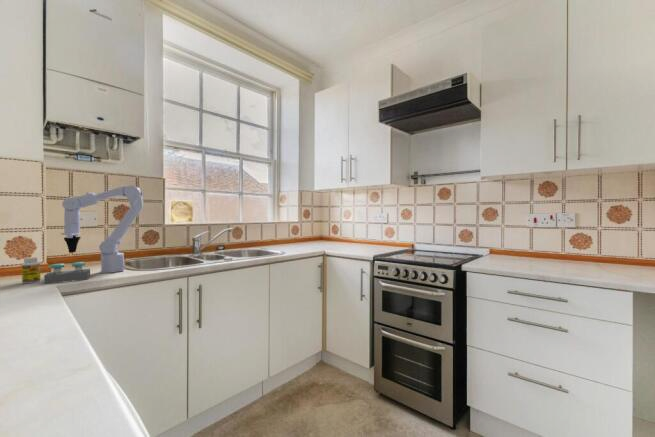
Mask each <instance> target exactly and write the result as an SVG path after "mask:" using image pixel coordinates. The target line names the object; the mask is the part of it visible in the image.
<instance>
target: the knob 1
mask: <svg viewBox="0 0 655 437" xmlns="http://www.w3.org/2000/svg"><path fill="white" fill-rule="evenodd" d="M64 267H66V264H65V263H54V264H53V263H52V264H50V266H49V269H53V272H54V274H57V273H61V271H62V268H64Z"/></svg>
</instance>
